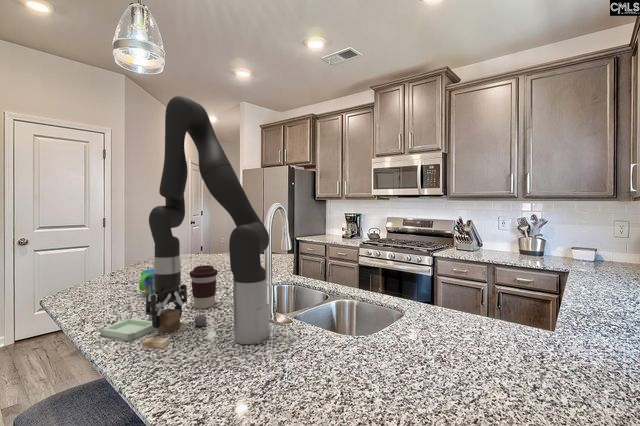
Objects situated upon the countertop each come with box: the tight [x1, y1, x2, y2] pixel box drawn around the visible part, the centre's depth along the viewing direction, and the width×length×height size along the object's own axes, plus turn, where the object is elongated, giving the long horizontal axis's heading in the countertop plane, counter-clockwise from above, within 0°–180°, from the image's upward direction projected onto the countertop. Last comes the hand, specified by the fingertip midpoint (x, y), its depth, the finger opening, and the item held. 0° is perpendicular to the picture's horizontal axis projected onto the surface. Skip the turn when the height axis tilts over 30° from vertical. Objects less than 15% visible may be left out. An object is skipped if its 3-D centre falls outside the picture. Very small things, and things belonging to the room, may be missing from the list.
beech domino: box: [141, 337, 170, 350], centre depth 91 cm, size 6×3×2 cm, turn 84°
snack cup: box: [138, 268, 156, 295], centre depth 142 cm, size 16×10×10 cm
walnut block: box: [156, 308, 181, 335], centre depth 102 cm, size 4×4×6 cm
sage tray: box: [99, 317, 157, 342], centre depth 101 cm, size 12×10×2 cm
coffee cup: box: [189, 264, 218, 310], centre depth 125 cm, size 10×10×15 cm
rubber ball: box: [194, 314, 207, 327], centre depth 105 cm, size 4×4×4 cm
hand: (167, 322), depth 102 cm, fingers open, 8 cm apart
